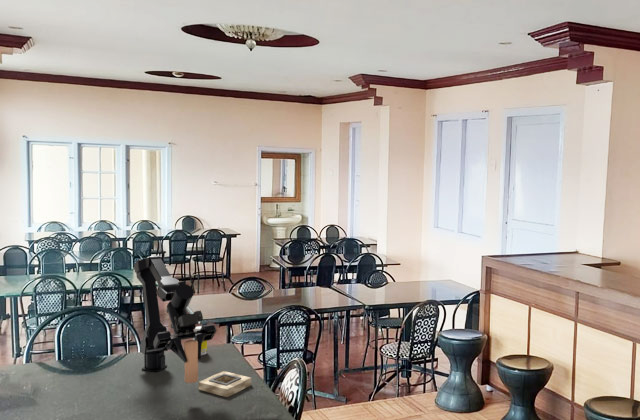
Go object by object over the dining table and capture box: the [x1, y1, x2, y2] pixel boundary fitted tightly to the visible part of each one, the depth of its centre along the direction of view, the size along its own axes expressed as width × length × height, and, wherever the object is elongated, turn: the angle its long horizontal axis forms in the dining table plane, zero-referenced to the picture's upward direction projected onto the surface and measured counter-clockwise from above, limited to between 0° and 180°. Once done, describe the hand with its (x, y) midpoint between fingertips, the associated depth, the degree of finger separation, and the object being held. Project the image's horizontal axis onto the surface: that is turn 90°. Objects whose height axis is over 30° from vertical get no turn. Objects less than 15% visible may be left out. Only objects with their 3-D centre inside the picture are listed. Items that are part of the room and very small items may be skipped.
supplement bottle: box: [191, 325, 208, 356], centre depth 221 cm, size 6×6×10 cm
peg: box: [183, 339, 199, 384], centre depth 175 cm, size 4×4×12 cm
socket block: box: [198, 370, 252, 398], centre depth 187 cm, size 12×12×3 cm
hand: (192, 360), depth 174 cm, fingers closed on peg, 4 cm apart
